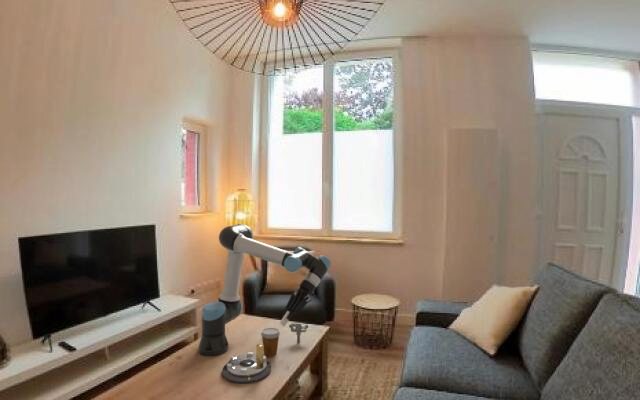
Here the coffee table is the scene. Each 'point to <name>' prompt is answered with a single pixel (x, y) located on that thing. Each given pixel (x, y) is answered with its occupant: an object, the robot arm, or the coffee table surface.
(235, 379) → the base plate
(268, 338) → the disposable coffee cup
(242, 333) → the coffee table surface
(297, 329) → the mechanical component
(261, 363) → the lugged metal disc
